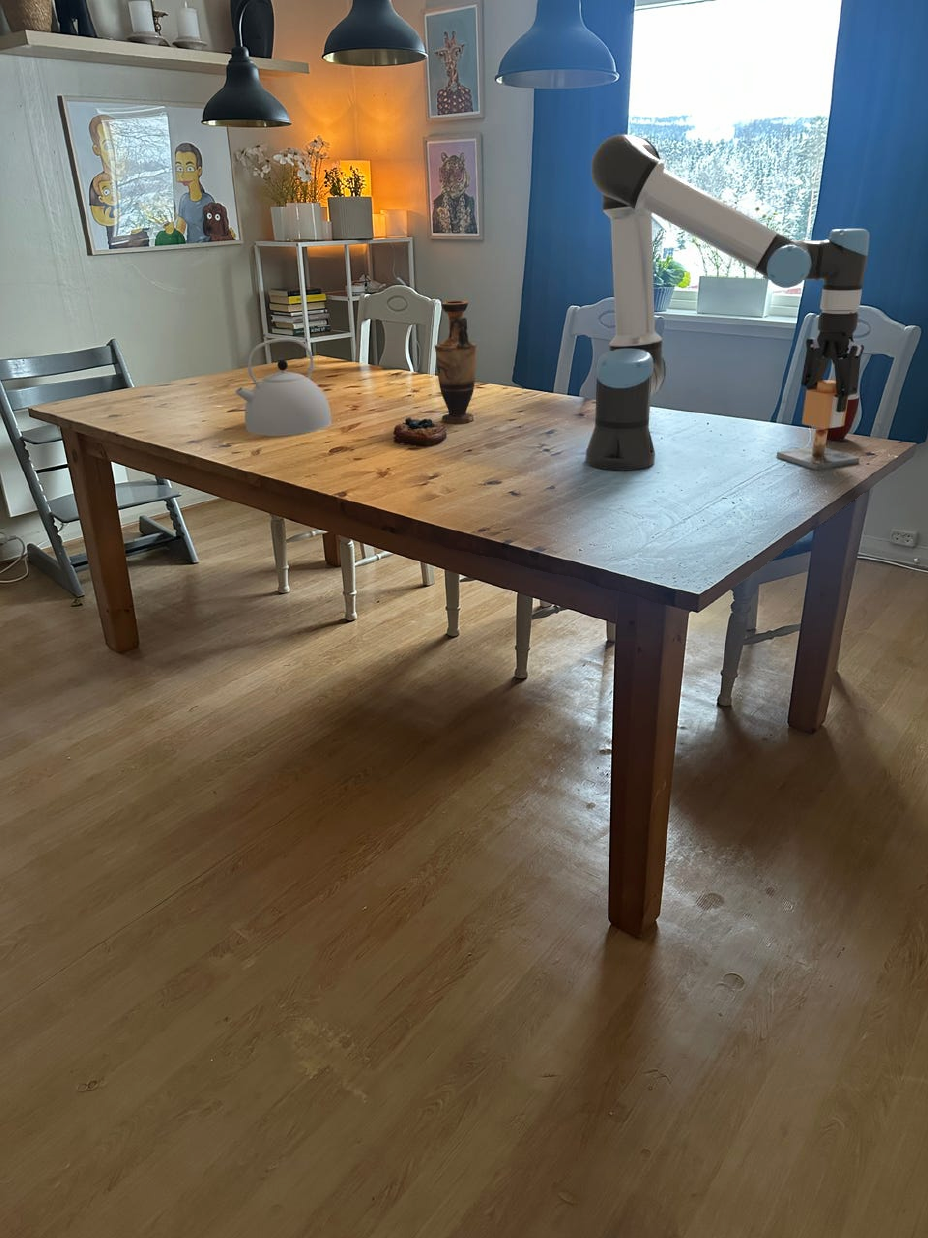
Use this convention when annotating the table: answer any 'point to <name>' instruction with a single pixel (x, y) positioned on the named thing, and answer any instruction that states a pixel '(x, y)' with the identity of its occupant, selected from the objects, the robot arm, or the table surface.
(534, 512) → the table surface
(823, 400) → the orange block
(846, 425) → the mug
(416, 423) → the pastry
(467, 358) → the vase
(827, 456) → the plate
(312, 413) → the kettle
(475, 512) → the table surface
